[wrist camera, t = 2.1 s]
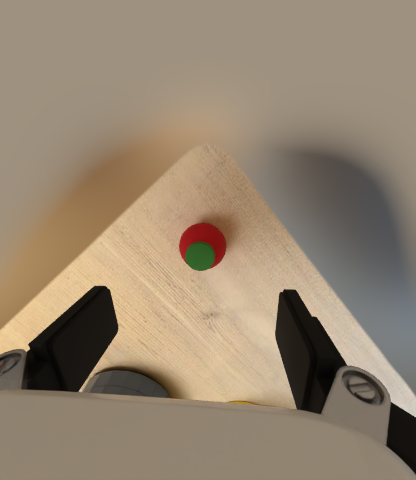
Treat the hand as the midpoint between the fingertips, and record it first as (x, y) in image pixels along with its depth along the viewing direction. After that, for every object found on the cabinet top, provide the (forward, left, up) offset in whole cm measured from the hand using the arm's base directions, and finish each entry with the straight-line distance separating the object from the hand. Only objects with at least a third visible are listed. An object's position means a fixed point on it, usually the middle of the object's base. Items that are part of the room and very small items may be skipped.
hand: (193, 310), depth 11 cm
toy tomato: (0, 0, -12) cm, 12 cm away
